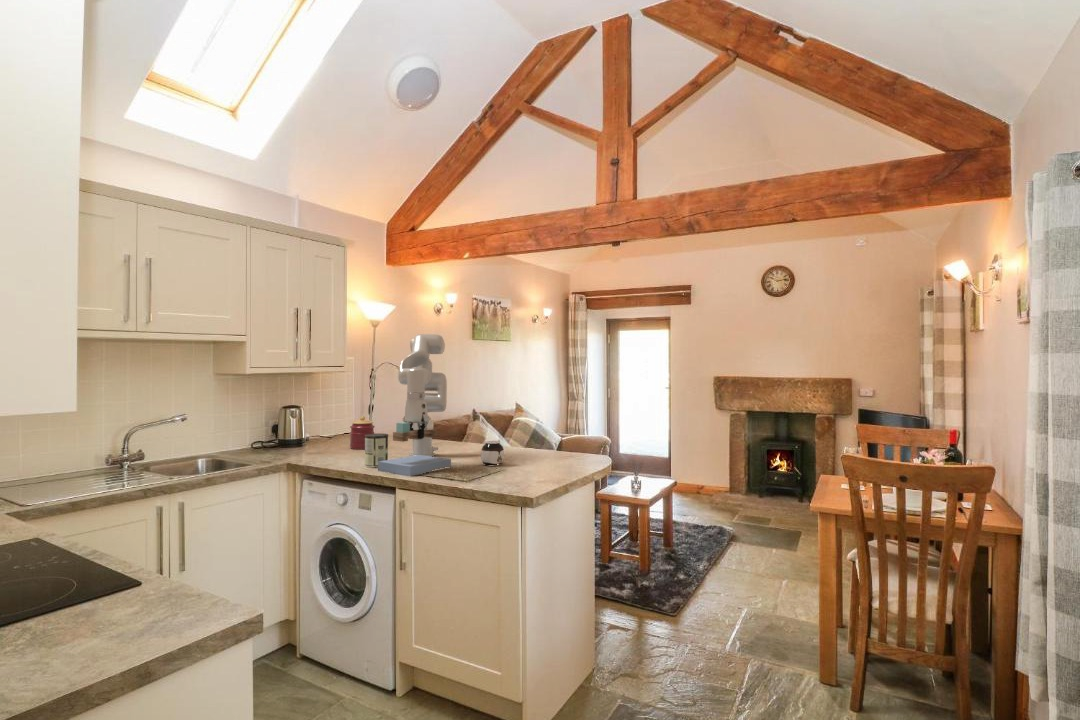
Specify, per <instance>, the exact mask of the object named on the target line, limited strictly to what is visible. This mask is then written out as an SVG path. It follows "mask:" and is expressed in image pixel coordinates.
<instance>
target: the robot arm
mask: <svg viewBox="0 0 1080 720" xmlns="http://www.w3.org/2000/svg"><path fill="white" fill-rule="evenodd" d="M445 348H446V344H445V339H444V338H443V336H441V335H440V334H431V333H429V334H428V333H426V334H424V333H422V334H417V335H415V337H414V338H412V339H411V340H410V341H409V349H410V352H411V353H410V354H408V355H407V356H405V357H404V358H403V359H402V360H401V361H400V364H399V367H398V373H397V380H398V382H399V383H400V384H401V385H403V386H404V385H405V386H406V390H407V391H406V401H405V407H404V416H403V418H402V422H406V423H410V430H418V439H419V440H416V439H412V452H410V453H409V455H408V457H409V456H415V455H425V456H433V457H435V456H434V455H436V453H435V451H438V450H439V447H438V446H433V440H432V439H433V438H429V437H424V429H425V427H426V426H427V424H428V423H429V420H432V419H431V417H430V415H429V414H428V413H443V412H445V411H446V409H447V402H448V401H447V396H448V394H447V393H448V392H447V390H448V389H447V388H448V387H447V385H448V383H447V381H448V380H447V376H446V374H445V373H443V372H434V371H433V362H432V360H431V359H430V355H442V354H444V352H445ZM426 392H427V393H426ZM429 392H435V393H429ZM436 392H437V393H436ZM421 424H422V425H421ZM420 438H423V439H420Z"/></svg>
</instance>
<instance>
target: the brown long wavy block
mask: <svg viewBox="0 0 1080 720" xmlns="http://www.w3.org/2000/svg"><path fill="white" fill-rule="evenodd" d="M437 430H438V429H437V428H436V429H435V428H433V430H424V437H429V438H432V439H434V438H437V436H438V435H437ZM409 439H410V440H413V439H416V440H419V439H418V430H410V432H407V433H398V432H396V431H393V432H392V441H395V442H402V443H404V442H408V441H409ZM420 439H423V438H420Z"/></svg>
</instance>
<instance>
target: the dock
mask: <svg viewBox="0 0 1080 720" xmlns="http://www.w3.org/2000/svg"><path fill="white" fill-rule="evenodd" d="M450 466H451V467H452V459H451V458H447V457H440V456H439V457H438V456H433V457H432V456H425V455H415V456H409V455H408V456H403V457H397V458H393V459H392V458H391V459H388V460H385V461H379V462H378V467H377V471H378V472H381V473H382V472H383V473H388V472H389V474H394V473H395V475H401V476H406V477H413V476H418V475H422V474H423V473H424V474H427V473H426V472H429V471H432V470H435V469H440V468H445V467H450ZM429 473H430V472H429Z"/></svg>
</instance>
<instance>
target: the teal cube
mask: <svg viewBox="0 0 1080 720" xmlns="http://www.w3.org/2000/svg"><path fill="white" fill-rule="evenodd" d="M395 424H396V430H395V432H398V433H407V432H410V423H406V422H403V421H402V422H396V423H395Z"/></svg>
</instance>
